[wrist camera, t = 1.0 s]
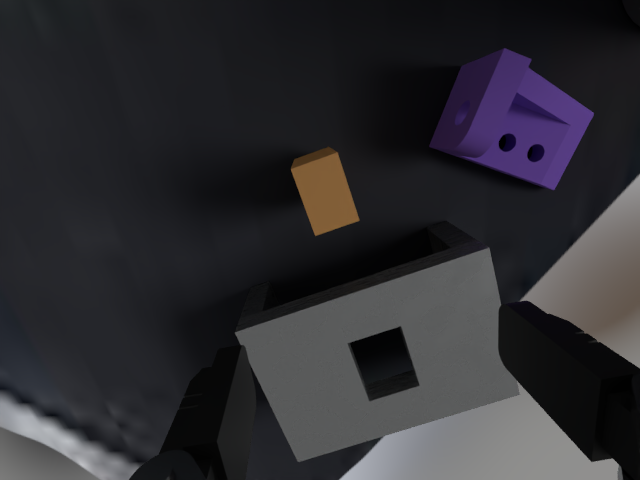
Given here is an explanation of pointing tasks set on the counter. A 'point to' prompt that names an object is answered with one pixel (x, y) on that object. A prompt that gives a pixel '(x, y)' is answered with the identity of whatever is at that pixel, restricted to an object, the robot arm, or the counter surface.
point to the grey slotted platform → (372, 318)
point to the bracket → (511, 120)
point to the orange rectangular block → (324, 190)
